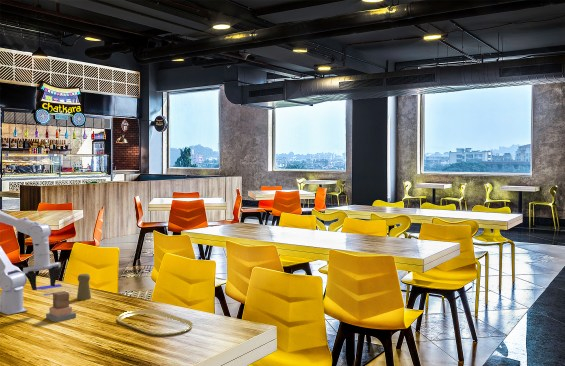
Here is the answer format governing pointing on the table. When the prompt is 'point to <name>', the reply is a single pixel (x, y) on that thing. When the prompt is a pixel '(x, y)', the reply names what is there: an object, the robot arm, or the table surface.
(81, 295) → the taupe pawn
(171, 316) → the serving platter
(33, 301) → the table surface
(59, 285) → the booklet
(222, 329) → the table surface
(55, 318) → the gray slab
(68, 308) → the terracotta cap
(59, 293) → the walnut block
